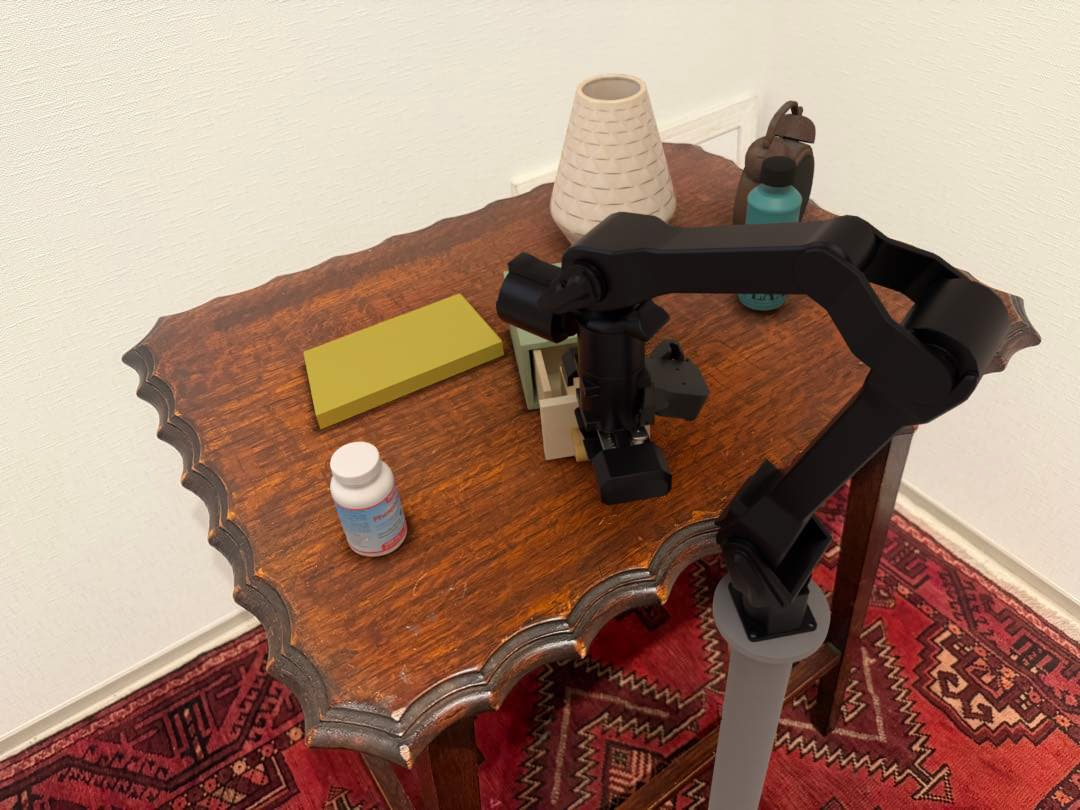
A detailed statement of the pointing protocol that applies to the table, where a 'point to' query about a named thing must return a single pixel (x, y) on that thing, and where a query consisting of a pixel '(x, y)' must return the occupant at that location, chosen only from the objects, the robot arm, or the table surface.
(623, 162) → the vase
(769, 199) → the beverage bottle
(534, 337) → the cabinet
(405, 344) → the flat olive board
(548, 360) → the drawer
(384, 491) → the pill bottle
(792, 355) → the table surface
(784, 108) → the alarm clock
